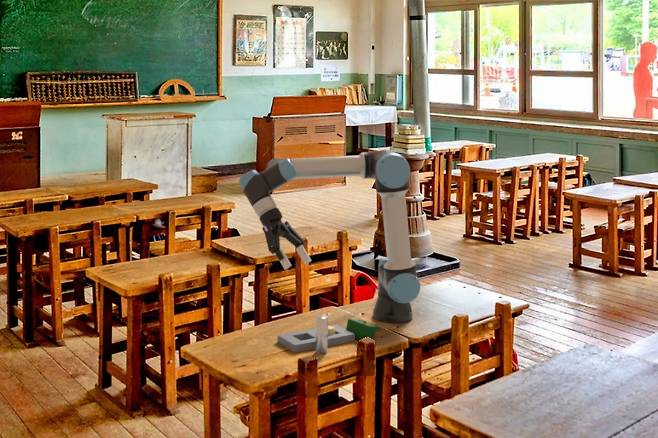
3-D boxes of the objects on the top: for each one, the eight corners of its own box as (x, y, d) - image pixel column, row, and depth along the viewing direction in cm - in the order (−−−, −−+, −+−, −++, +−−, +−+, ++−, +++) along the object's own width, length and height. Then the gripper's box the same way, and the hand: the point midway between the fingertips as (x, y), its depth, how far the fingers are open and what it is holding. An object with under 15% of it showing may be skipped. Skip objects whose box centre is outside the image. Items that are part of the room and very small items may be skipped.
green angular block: (372, 350, 288) (384, 330, 286) (360, 350, 284) (372, 329, 282) (354, 329, 297) (365, 309, 294) (342, 329, 293) (353, 308, 290)
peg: (323, 349, 276) (324, 315, 274) (329, 352, 273) (330, 318, 271) (313, 351, 274) (313, 316, 272) (319, 354, 271) (320, 319, 269)
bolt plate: (336, 331, 295) (336, 320, 295) (354, 340, 285) (355, 329, 285) (277, 341, 283) (277, 330, 282) (294, 352, 273) (294, 340, 272)
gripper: (279, 215, 295) (308, 266, 291) (240, 221, 273) (271, 275, 269) (294, 204, 292) (323, 255, 288) (255, 208, 270) (287, 264, 266)
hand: (298, 265), depth 278 cm, fingers open, 13 cm apart
